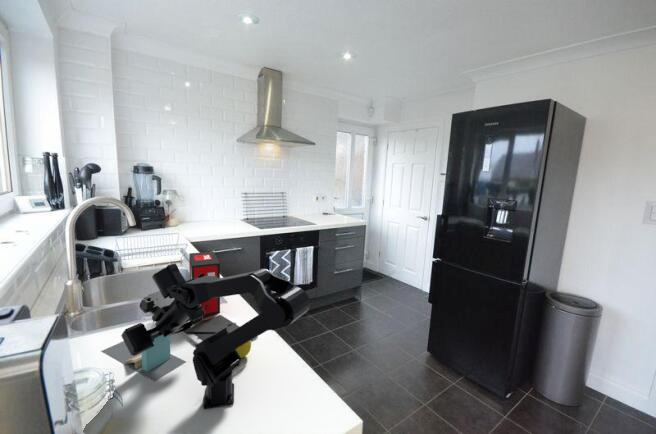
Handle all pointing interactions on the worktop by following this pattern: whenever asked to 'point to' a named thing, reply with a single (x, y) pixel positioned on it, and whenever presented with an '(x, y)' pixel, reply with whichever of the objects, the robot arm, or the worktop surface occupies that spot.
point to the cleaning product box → (202, 267)
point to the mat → (123, 354)
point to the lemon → (244, 349)
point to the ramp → (136, 361)
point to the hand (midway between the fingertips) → (152, 340)
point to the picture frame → (211, 327)
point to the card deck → (156, 353)
